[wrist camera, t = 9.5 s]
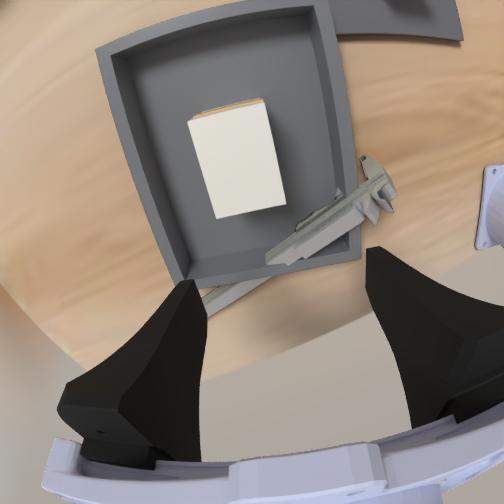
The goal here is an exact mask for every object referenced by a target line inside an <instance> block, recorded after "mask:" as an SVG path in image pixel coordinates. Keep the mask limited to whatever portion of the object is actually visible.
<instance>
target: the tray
mask: <svg viewBox="0 0 504 504" xmlns="http://www.w3.org/2000/svg"><path fill="white" fill-rule="evenodd" d="M95 51H96V55H97V59H98V63H99V67H100V71H101V75H102V79H103V83H104V87H105V91H106V94H107V98H108V101H109V105H110V108H111V112H112V115H113V119H114V122H115V125H116V129H117V132H118V135H119V138H120V141H121V145H122V148H123V151H124V154H125V157H126V160H127V163H128V166H129V169H130V172H131V175H132V178H133V180H134V183H135V186H136V189H137V192H138V194H139V197H140V200H141V203H142V205H143V208H144V211H145V213H146V216H147V219H148V221H149V224H150V226H151V229H152V232H153V234H154V237H155V239H156V242H157V244H158V247H159V249H160V251H161V254H162V256H163V259H164V261H165V264H166V266H167V268H168V271H169V273H170V275H171V278H172V280H173V282H174V285H175V286H176V285H177V284H178V283H179V282H180V281H183V280H189V279H194V281H195V283H196V286H197V289H202V288H208V287H214V286H219V285H225V284H231V283H236V282H242V281H248V280H253V279H259V278H264V277H270V276H275V275H280V274H286V273H291V272H296V271H302V270H307V269H312V268H317V267H322V266H327V265H332V264H337V263H342V262H347V261H352V260H357V259H361V225H360V223H359V224H358V225H356V226H355V227H354V228H352V229H351V230H349V231H347V232H346V233H344V234H343V235H341V236H340V237H338V238H337V239H335V240H334V241H332V242H331V243H329V244H328V245H326V246H325V247H323V248H322V249H320V250H319V251H317V252H316V253H314V254H312V255H311V256H309V257H308V258H306V259H304V258H303V257H301V258H300V259H298V260H297V261H295V262H293V263H292V264H290V265H289V266H288V265H287V264H285V263H283V264H273V265H266V258H265V253H266V252H268V251H269V250H271V249H272V248H273V247H275V246H276V245H277V244H279V243H280V242H282V241H283V240H284V239H286V238H287V237H289V236H290V235H291V234H293V233H294V232H295V225H296V224H297V223H298V222H300V221H302V220H304V219H305V218H307V217H308V216H309V215H310V214H311V213H312V212H314V211H315V210H317V209H319V208H321V207H323V206H327V205H328V204H330V203H331V202H333V201H334V200H335V196H336V192H337V187H338V188H339V190H340V191H341V192H342V193H343V195H344V196H345V197H346V198H347V197H349V196H350V195H351V194H352V193H353V192H354V191H355V190H357V189H358V177H357V166H356V156H355V146H354V138H353V130H352V122H351V115H350V108H349V101H348V95H347V89H346V83H345V77H344V71H343V66H342V61H341V56H340V51H339V46H338V42H337V37H336V33H335V28H334V24H333V20H332V16H331V12H330V8H329V4H328V0H245V1H240V2H235V3H230V4H225V5H221V6H216V7H212V8H208V9H204V10H200V11H196V12H193V13H189V14H186V15H182V16H179V17H176V18H172V19H169V20H166V21H163V22H160V23H157V24H155V25H152V26H149V27H146V28H144V29H141V30H138V31H136V32H133V33H131V34H128V35H126V36H123V37H121V38H119V39H116V40H114V41H112V42H110V43H107V44H105V45H103V46H101V47H99V48H97V49H95ZM257 98H260V99H261V98H262V99H263V101H264V103H265V107H266V112H267V116H268V120H269V125H270V129H271V134H272V138H273V143H274V147H275V152H276V156H277V161H278V166H279V171H280V175H281V180H282V185H283V190H284V195H285V200H286V204H284V205H279V206H274V207H269V208H264V209H260V210H255V211H250V212H246V213H241V214H237V215H232V216H228V217H223V218H219V219H216V216H215V213H214V210H213V206H212V203H211V200H210V197H209V193H208V190H207V187H206V184H205V180H204V177H203V174H202V170H201V167H200V164H199V160H198V157H197V154H196V150H195V147H194V143H193V140H192V137H191V133H190V130H189V126H188V123H187V122H188V121H189V120H191V119H192V118H193V116H195V115H196V114H199V113H201V112H203V111H207V110H211V109H214V108H218V107H222V106H226V105H230V104H234V103H239V102H243V101H247V100H252V99H257Z"/></svg>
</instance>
